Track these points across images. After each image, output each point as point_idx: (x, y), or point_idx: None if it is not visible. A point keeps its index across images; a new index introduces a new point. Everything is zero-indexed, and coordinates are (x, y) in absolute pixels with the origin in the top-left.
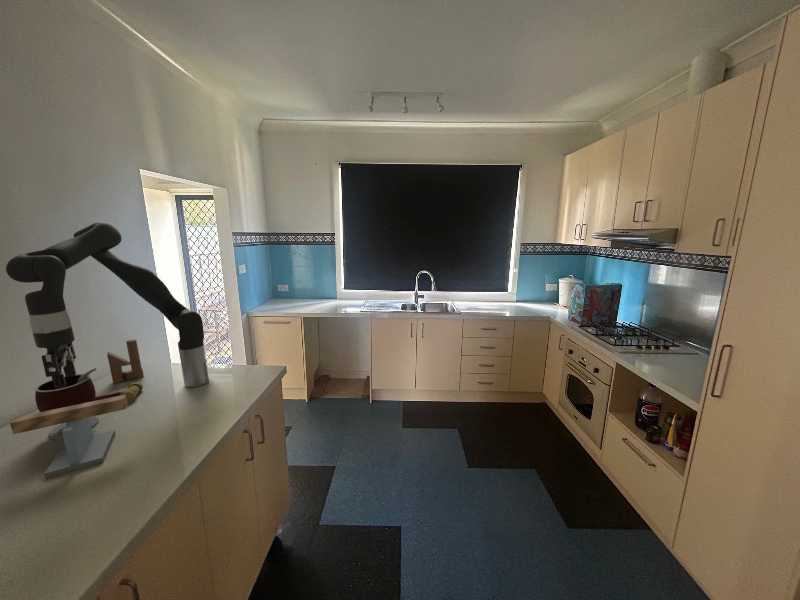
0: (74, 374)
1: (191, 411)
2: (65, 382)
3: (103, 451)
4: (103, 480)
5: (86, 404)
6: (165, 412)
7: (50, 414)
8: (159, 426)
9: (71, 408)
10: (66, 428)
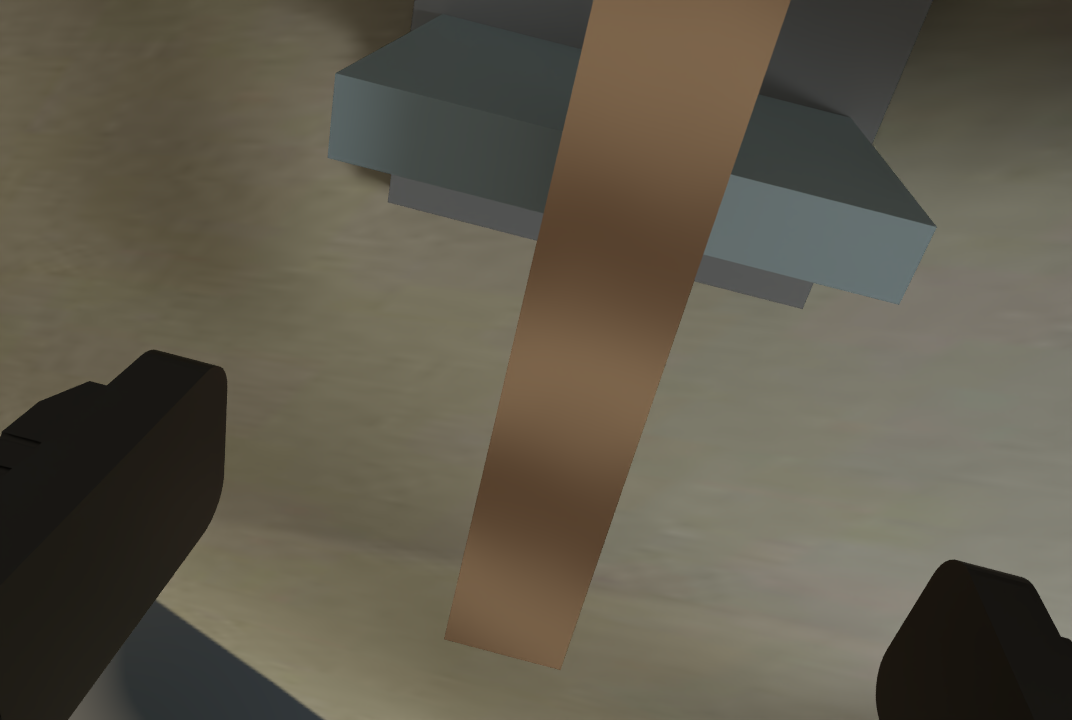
0: (884, 696)
1: (692, 671)
2: (166, 569)
3: (478, 215)
4: (166, 174)
5: (585, 377)
6: (839, 578)
7: (596, 1)
8: (640, 509)
9: (593, 236)
10: (394, 112)
